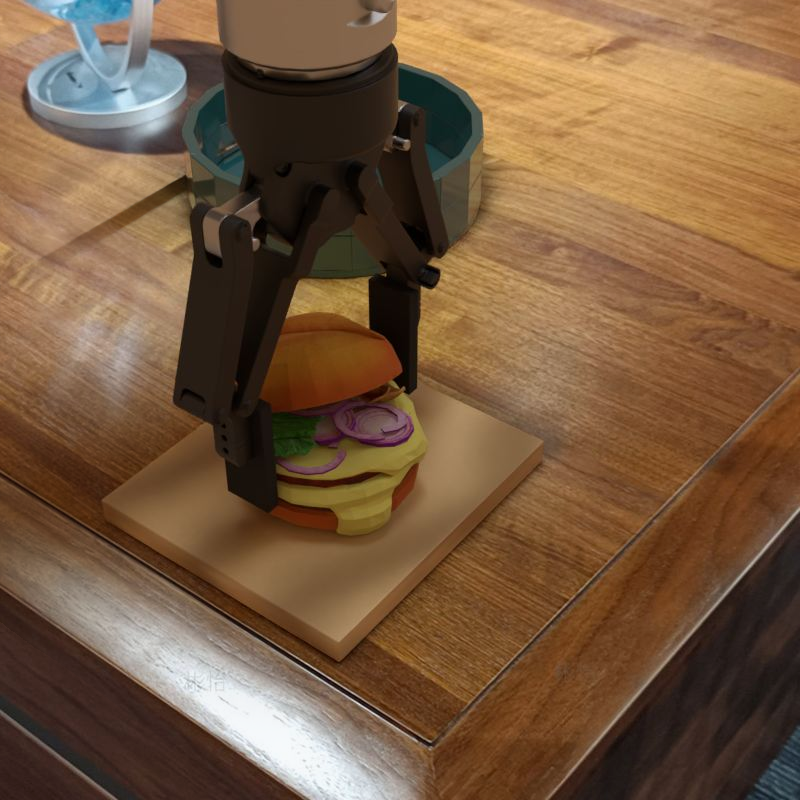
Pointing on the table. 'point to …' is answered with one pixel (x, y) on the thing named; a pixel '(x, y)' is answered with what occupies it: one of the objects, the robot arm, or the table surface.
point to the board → (319, 548)
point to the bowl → (446, 150)
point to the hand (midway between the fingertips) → (326, 437)
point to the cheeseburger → (340, 425)
